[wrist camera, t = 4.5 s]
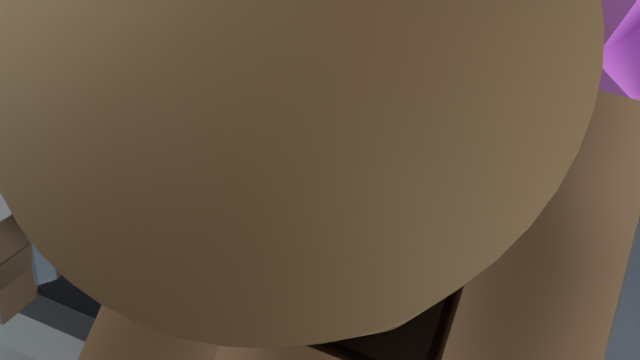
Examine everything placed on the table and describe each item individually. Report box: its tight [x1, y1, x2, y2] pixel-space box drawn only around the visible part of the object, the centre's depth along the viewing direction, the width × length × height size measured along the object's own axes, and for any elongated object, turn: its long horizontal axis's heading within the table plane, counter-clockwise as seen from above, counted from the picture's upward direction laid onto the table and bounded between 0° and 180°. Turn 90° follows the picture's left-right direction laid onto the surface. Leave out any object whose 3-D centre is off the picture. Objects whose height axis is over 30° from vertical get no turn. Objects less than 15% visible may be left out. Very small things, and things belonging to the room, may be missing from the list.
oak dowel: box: [0, 0, 604, 348], centre depth 11 cm, size 4×4×16 cm
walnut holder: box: [78, 90, 640, 360], centre depth 17 cm, size 12×12×6 cm
